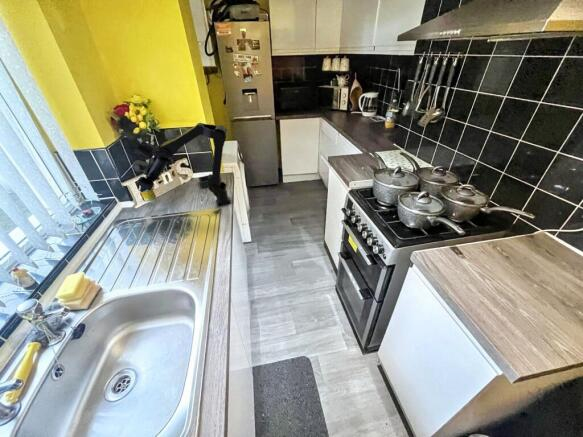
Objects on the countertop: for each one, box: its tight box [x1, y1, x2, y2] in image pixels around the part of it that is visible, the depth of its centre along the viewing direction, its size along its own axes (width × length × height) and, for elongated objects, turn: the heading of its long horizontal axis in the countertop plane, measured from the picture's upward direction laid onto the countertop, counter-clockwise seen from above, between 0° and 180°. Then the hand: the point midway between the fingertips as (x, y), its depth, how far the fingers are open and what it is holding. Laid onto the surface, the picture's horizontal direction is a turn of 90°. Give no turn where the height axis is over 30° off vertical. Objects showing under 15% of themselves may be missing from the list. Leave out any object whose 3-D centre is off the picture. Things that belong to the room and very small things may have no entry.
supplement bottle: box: [139, 186, 157, 203], centre depth 121 cm, size 5×5×10 cm
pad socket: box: [198, 174, 209, 189], centre depth 147 cm, size 8×8×4 cm
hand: (142, 188), depth 120 cm, fingers closed on supplement bottle, 5 cm apart
